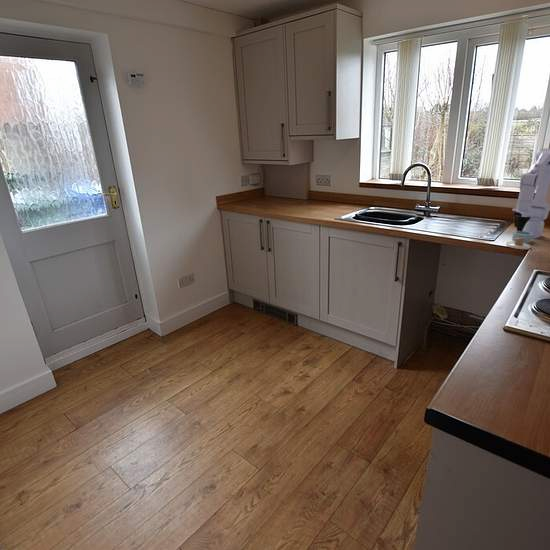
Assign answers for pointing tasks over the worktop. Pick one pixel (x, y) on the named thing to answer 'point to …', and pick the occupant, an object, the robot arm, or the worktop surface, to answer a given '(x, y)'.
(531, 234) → the bowl
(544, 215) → the robot arm
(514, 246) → the lid
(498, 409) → the worktop surface
